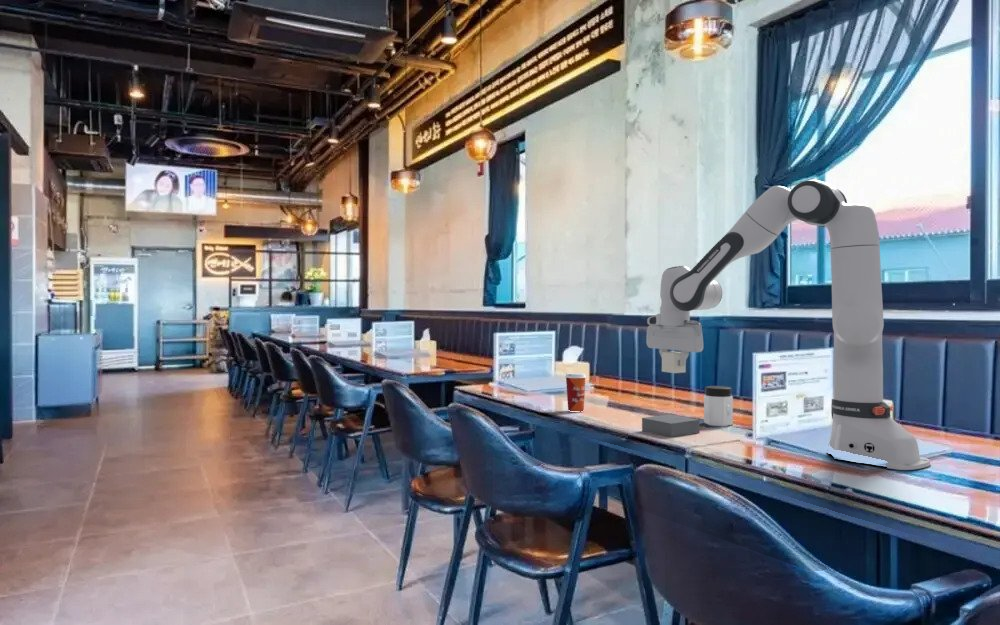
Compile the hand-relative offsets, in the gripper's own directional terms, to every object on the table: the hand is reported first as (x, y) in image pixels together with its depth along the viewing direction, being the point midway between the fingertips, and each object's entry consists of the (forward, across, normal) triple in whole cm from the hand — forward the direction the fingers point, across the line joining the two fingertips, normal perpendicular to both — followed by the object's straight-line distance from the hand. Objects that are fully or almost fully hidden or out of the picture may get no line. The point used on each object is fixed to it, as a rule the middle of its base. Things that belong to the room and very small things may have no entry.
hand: (673, 365), depth 199 cm
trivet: (+20, 0, +1) cm, 20 cm away
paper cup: (+22, +47, 0) cm, 52 cm away
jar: (+20, +1, -22) cm, 30 cm away
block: (+2, 0, 0) cm, 2 cm away
